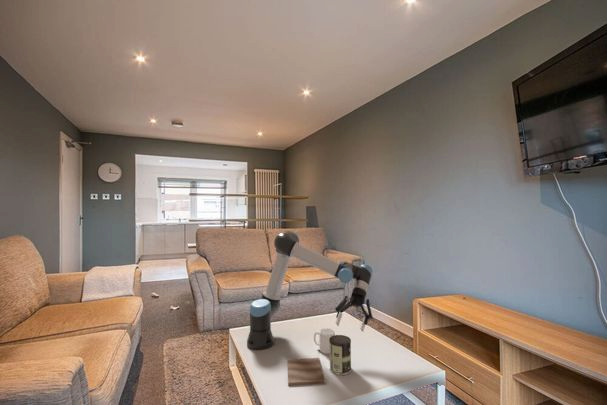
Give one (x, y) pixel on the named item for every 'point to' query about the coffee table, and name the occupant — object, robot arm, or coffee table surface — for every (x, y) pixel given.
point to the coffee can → (340, 354)
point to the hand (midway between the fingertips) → (349, 327)
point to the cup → (324, 339)
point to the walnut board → (305, 371)
